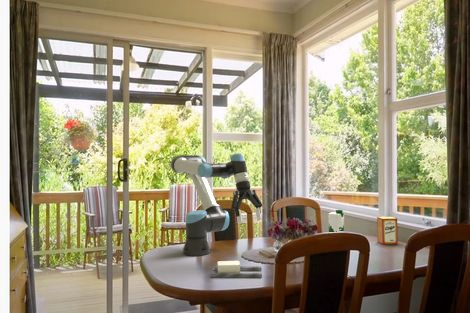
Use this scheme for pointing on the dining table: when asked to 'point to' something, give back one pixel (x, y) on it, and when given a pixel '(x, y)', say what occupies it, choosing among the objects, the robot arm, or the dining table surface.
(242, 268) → the twin grey rails
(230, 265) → the cream block
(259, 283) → the dining table surface
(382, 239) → the baking soda box
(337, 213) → the milk carton
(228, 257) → the dining table surface
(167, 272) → the dining table surface
